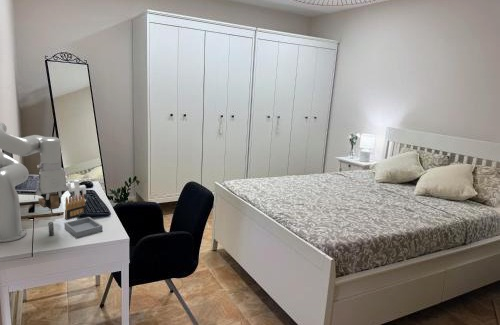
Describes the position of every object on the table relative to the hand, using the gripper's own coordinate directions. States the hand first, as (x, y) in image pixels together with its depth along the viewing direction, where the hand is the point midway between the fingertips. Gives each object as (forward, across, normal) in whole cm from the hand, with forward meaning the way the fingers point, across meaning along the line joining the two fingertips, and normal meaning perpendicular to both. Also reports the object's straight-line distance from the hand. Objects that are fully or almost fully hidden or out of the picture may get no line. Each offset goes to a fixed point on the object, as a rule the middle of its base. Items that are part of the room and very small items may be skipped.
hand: (53, 205), depth 154 cm
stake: (+16, 0, +5) cm, 17 cm away
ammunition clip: (+16, +17, +20) cm, 31 cm away
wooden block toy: (+1, 0, +3) cm, 3 cm away
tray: (+16, +13, +1) cm, 21 cm away
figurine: (+16, +24, +35) cm, 45 cm away
